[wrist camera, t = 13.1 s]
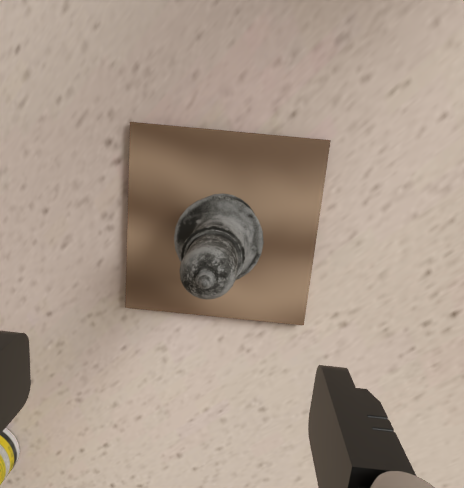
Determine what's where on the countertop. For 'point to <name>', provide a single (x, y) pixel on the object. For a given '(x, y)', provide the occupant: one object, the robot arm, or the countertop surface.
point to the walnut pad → (233, 183)
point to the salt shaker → (216, 244)
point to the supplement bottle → (7, 453)
